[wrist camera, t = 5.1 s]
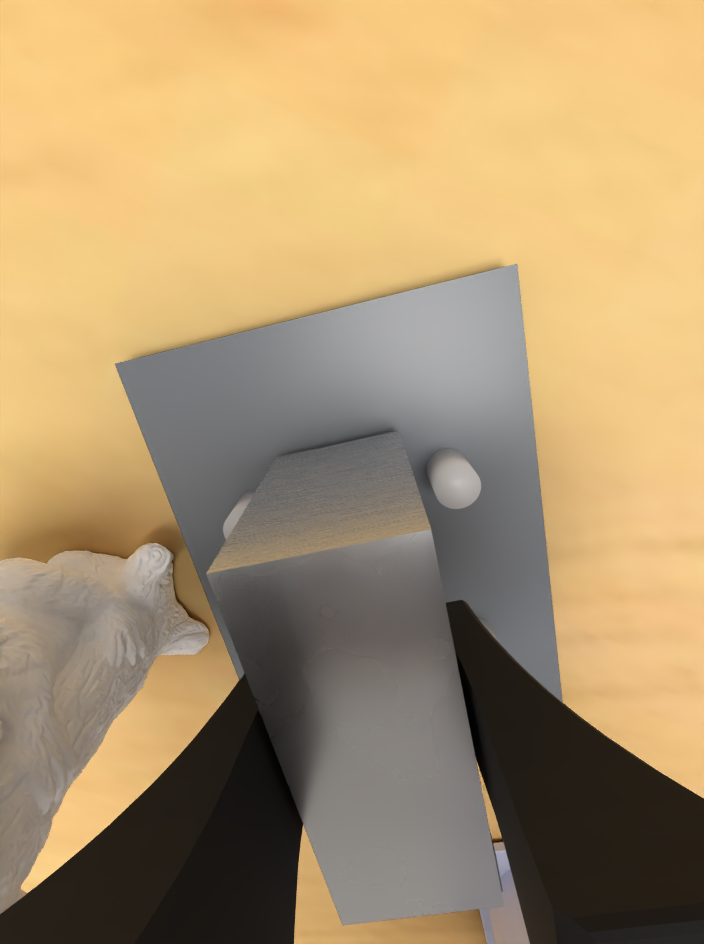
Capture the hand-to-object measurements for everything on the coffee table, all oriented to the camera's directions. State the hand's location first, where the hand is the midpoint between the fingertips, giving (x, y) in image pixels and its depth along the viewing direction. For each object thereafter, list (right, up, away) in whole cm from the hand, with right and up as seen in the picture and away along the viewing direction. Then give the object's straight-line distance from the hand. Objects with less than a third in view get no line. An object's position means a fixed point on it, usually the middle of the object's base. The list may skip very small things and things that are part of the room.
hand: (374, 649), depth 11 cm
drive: (0, +1, +3) cm, 3 cm away
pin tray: (0, +1, +4) cm, 4 cm away
